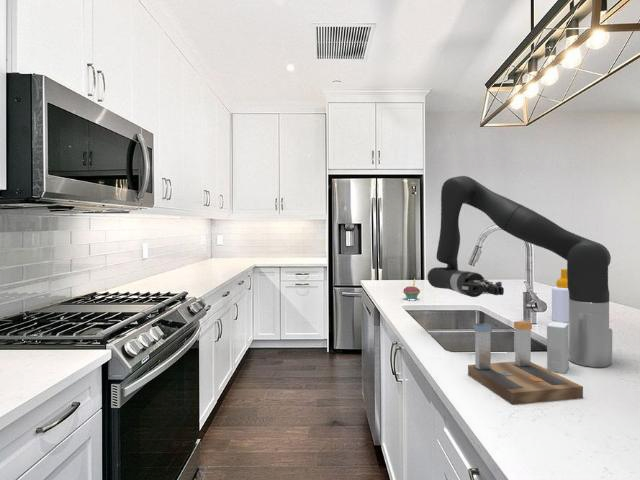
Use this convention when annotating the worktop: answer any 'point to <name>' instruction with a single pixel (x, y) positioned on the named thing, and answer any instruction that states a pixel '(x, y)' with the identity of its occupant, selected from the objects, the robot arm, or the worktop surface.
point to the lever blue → (482, 345)
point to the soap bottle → (561, 299)
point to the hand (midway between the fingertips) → (500, 291)
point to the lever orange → (523, 343)
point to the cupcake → (411, 291)
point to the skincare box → (558, 347)
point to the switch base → (525, 383)
